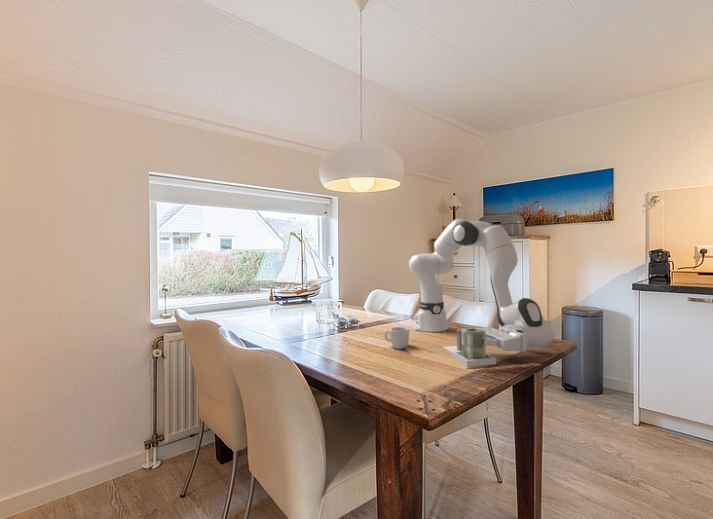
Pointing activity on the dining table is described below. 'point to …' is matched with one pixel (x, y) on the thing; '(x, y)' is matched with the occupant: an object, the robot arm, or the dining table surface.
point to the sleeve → (473, 343)
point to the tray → (474, 360)
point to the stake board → (451, 348)
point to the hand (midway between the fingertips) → (476, 339)
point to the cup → (398, 337)
